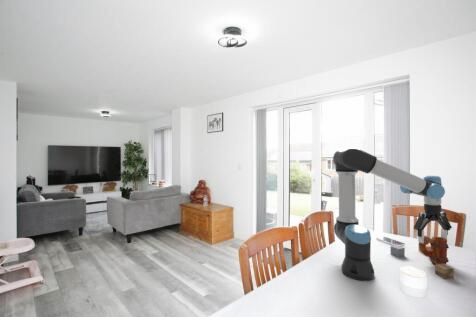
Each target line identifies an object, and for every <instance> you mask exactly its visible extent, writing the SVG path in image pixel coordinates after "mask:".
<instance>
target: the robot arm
mask: <svg viewBox="0 0 476 317" xmlns="http://www.w3.org/2000/svg"><path fill="white" fill-rule="evenodd" d="M332 161H333V163H334V165H335V173H336V174H337V175H338V216H337V217H336V218H335V222H334V225H333V232H334V234H335V236H336V237H337V239H338V240H340V241H341V242H342V243H343V244H344V258H343V261H342V264H341V272H342V274H343V275H345V276H346V277H348V278H350V279H353V280H358V281H363V282H364V281H366V282H367V281H371V280H373V279H374V278H375V269H374V266H373V264H372V261H371V240H372V236H371V232H370V230H369V229H368V228H366V226H362V225H359V224H360V223H359V218H358V217H357V216H356V174H357V173H358V172H362V173H364V174H372V175H374V176H377V177H379V178H381V179H383V180H386V181H388V182H391V183H393V184H396V185H397V186H399V188H400V191H401V193H403V194H409V195H410V194H414V195H416V196H417V195H418V196H420V197H421V196H422V197H423V203H424V204H423V209H424V212H419V214H418V218H417V219H416V221H415V223H414V226H413V230H416V231H417V239H418V240H417V241H418V243H419V242H420V243H424V236H425V234H424V233H425V232H424V231H423V230H424V229H425V228H426V227H427V225H429V223H431V222H437V223H438V225H439V226H440V227H441V230H440V231H441V232H440V233H441V234H440V237H442V238H445V239H446V240H447V241H448V235H449V231H450V230H451V229H452V228H453V227H452V225H451V223H450V220H449V219H448V217H447V212H446V211H442V205H441V204H442V198H443V197H444V196H445V193H446V189H445V187H444V186H443V184H442V178H441V177H440V176H438V175H424V176H423V178H422V177H419V176H417V175H414V174H412V173H410V172H408V171H405V170H403V169H400V168H398V167H396V166H393V165H391V164H389V163H386V162H385V161H381V160H379V159H378V157H377V156H375V155H373V154H371V153H369V152H366V151H364V150H362V149H360V148H358V147H342V148H339V149H337V150H336V151H335V152H334V154H333V156H332Z"/></svg>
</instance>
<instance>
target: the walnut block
mask: <svg viewBox="0 0 476 317" xmlns="http://www.w3.org/2000/svg"><path fill="white" fill-rule="evenodd" d="M434 264H435V263H434ZM434 266H435V269H434V273H435V275H437V276H438V277H440V278H442V279H444V280H451V279H452V280H454V279H455V268H454V267H452V266H450V265H448V264H447V263H446V264H435V265H434Z"/></svg>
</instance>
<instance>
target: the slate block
mask: <svg viewBox="0 0 476 317" xmlns="http://www.w3.org/2000/svg"><path fill="white" fill-rule="evenodd" d="M405 250H406V249H405V247H403V246H400V245H397V244H394V245H390V255H392V256H394V257H397V258H401V257H402V258H403V257H405V252H406V251H405Z"/></svg>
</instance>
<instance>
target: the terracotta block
mask: <svg viewBox="0 0 476 317" xmlns="http://www.w3.org/2000/svg"><path fill="white" fill-rule="evenodd" d="M426 249H427V250H431V245H430V243H429V244H427V245H426ZM418 252H419V253H420V254H422V255H424V254H423V253H422V252H421V251H420V248H419V247H418Z"/></svg>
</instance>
